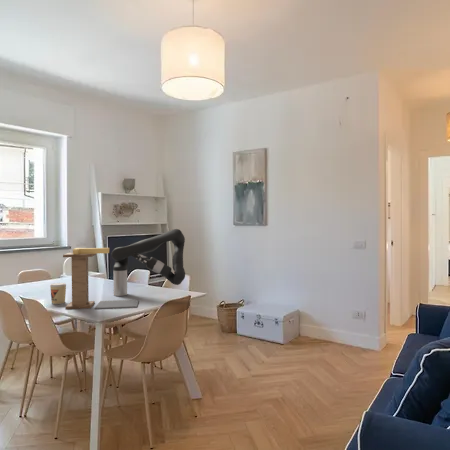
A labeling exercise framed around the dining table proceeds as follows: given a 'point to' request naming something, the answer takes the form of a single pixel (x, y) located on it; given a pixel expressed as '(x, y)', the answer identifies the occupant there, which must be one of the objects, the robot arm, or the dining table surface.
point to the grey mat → (117, 304)
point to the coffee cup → (58, 293)
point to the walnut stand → (79, 281)
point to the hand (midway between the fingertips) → (132, 253)
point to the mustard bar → (90, 250)
